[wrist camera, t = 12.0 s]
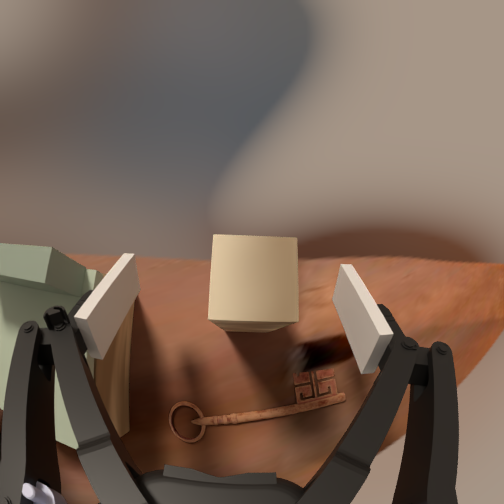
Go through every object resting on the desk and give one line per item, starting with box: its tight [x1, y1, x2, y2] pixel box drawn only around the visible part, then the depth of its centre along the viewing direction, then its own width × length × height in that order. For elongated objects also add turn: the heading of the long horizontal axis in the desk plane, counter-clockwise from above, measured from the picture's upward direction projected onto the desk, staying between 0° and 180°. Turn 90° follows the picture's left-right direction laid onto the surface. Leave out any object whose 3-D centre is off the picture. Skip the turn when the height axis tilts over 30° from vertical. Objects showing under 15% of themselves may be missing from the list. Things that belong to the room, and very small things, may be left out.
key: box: [169, 369, 346, 443], centre depth 20 cm, size 6×1×15 cm
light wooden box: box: [94, 273, 135, 437], centre depth 17 cm, size 12×13×6 cm
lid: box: [0, 243, 103, 449], centre depth 12 cm, size 12×13×5 cm
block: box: [208, 234, 299, 332], centre depth 16 cm, size 4×4×12 cm
